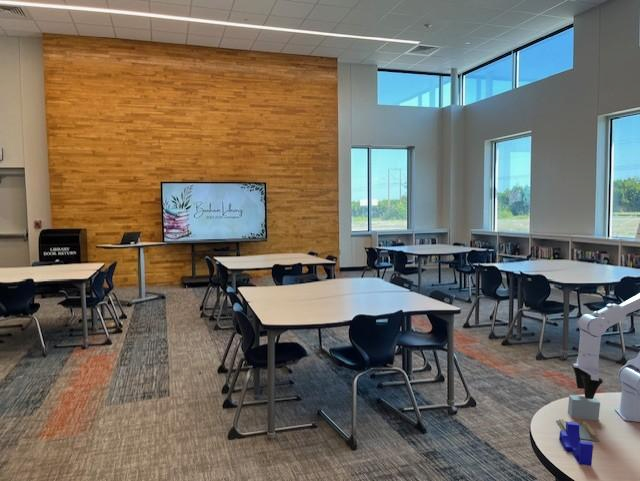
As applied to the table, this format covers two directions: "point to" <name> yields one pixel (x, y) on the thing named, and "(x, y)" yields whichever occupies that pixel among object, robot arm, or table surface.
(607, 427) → the table surface
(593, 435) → the guide rails
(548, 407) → the table surface
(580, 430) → the guide mat
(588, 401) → the bar
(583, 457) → the cable clip
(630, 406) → the robot arm
